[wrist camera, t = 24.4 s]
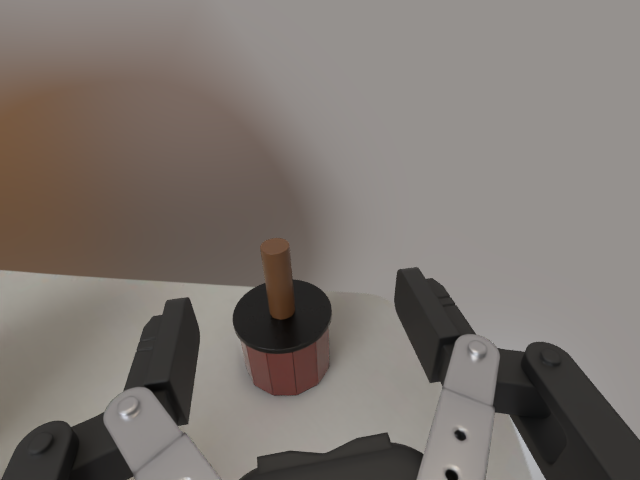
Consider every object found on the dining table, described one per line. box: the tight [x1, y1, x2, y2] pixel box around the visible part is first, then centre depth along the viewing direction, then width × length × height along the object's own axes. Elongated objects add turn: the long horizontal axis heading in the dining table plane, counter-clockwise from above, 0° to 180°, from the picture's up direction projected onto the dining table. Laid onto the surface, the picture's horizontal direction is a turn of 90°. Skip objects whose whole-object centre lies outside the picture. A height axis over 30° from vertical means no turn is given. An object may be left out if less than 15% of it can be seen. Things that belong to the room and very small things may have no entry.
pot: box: [240, 327, 329, 395], centre depth 39 cm, size 9×9×7 cm
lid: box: [233, 238, 332, 354], centre depth 35 cm, size 10×10×9 cm
